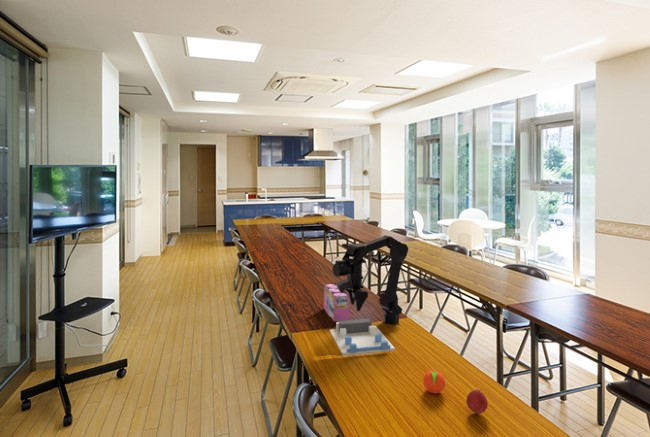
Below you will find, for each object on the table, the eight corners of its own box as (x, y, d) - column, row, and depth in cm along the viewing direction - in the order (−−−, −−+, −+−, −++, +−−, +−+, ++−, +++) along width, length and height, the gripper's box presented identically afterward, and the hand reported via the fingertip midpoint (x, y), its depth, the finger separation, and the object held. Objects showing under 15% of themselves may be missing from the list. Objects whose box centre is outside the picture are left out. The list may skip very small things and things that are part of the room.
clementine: (445, 401, 120) (446, 379, 119) (422, 397, 122) (423, 376, 121) (444, 387, 128) (445, 367, 127) (423, 384, 129) (423, 364, 129)
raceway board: (375, 327, 179) (375, 319, 178) (395, 351, 154) (395, 341, 154) (329, 331, 174) (329, 322, 174) (342, 356, 150) (342, 346, 149)
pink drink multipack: (322, 307, 207) (322, 283, 206) (336, 306, 209) (336, 282, 207) (333, 323, 184) (334, 296, 182) (349, 322, 186) (349, 295, 184)
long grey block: (368, 328, 175) (368, 318, 175) (371, 331, 171) (371, 321, 171) (338, 330, 172) (338, 320, 172) (341, 334, 169) (341, 324, 168)
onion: (463, 414, 113) (464, 389, 112) (469, 405, 117) (470, 381, 117) (483, 422, 109) (485, 396, 108) (489, 412, 114) (490, 387, 113)
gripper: (332, 269, 176) (333, 302, 178) (343, 280, 158) (343, 316, 160) (356, 268, 179) (356, 300, 180) (368, 278, 161) (368, 314, 162)
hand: (355, 307), depth 171 cm, fingers open, 9 cm apart
